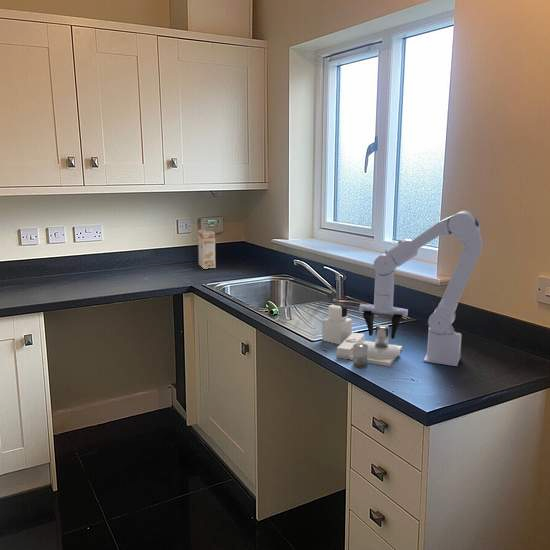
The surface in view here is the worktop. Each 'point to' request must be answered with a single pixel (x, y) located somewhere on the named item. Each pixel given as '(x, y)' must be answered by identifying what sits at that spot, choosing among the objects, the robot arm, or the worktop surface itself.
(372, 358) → the scale
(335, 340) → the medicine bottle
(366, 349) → the cylinder
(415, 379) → the worktop surface
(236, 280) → the worktop surface
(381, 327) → the cylinder
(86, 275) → the worktop surface
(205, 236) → the coffeecake box
